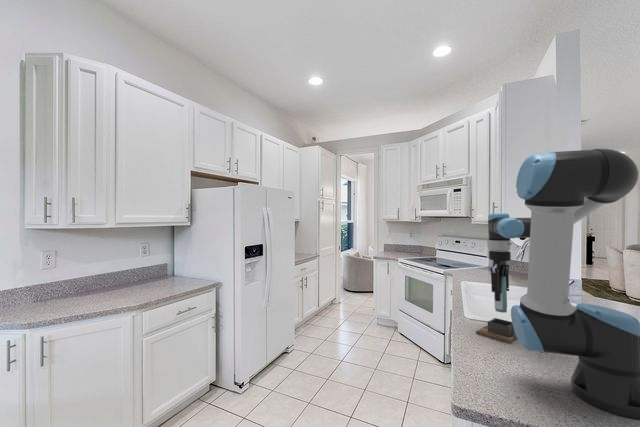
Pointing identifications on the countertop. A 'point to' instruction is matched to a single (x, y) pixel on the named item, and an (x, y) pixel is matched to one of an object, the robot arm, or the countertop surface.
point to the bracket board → (499, 331)
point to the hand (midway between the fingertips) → (500, 307)
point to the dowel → (503, 296)
